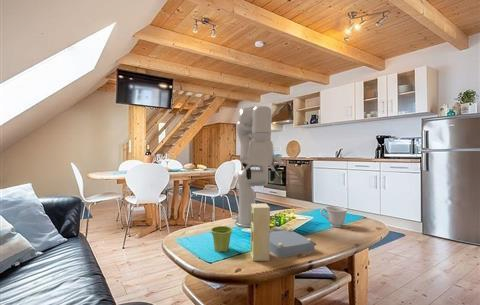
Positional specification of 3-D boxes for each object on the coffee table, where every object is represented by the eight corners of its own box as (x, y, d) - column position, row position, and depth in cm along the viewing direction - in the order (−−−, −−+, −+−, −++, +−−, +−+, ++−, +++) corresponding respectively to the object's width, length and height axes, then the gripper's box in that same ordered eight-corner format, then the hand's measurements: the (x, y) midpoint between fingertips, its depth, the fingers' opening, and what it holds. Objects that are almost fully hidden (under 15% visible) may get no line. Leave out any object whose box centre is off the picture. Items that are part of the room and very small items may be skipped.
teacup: (318, 222, 156) (318, 205, 156) (343, 223, 154) (344, 206, 154) (321, 228, 144) (322, 210, 144) (349, 229, 142) (350, 211, 142)
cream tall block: (248, 252, 108) (249, 203, 108) (265, 252, 109) (266, 203, 109) (250, 261, 100) (252, 207, 100) (269, 260, 101) (270, 207, 101)
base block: (279, 257, 104) (279, 245, 104) (257, 242, 120) (258, 231, 120) (314, 251, 111) (314, 239, 111) (289, 237, 128) (290, 227, 128)
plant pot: (224, 255, 105) (224, 234, 105) (206, 250, 110) (206, 230, 110) (236, 248, 113) (236, 228, 113) (219, 243, 118) (219, 224, 118)
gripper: (238, 137, 103) (237, 179, 103) (280, 137, 97) (279, 182, 97) (244, 138, 110) (243, 177, 110) (284, 138, 104) (283, 180, 104)
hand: (260, 180), depth 104 cm, fingers open, 9 cm apart
